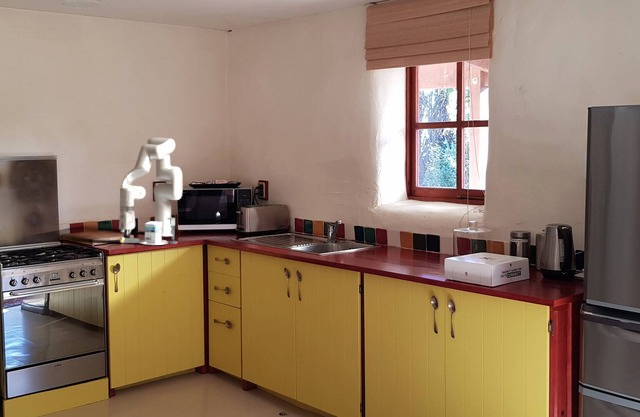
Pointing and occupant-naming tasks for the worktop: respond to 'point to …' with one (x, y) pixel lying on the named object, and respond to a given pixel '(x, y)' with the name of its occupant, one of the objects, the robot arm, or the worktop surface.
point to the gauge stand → (172, 223)
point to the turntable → (136, 240)
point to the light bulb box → (153, 232)
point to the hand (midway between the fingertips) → (126, 241)
